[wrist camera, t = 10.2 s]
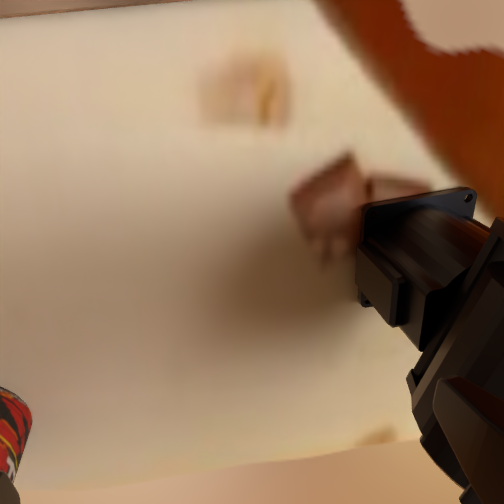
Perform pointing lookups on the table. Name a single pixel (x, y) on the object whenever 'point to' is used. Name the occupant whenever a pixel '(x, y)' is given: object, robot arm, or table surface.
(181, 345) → the table surface
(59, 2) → the peg holder
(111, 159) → the table surface
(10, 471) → the deodorant
